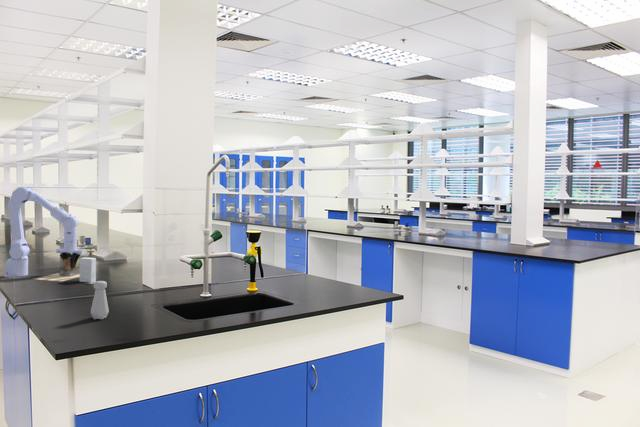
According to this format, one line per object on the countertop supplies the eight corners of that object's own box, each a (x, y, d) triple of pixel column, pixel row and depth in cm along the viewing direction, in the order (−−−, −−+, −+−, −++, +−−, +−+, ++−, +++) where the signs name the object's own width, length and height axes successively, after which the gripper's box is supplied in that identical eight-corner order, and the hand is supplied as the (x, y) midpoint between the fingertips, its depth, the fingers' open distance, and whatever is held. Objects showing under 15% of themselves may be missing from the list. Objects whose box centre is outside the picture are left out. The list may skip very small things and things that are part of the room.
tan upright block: (63, 273, 248) (63, 259, 247) (69, 271, 252) (69, 258, 252) (68, 273, 247) (68, 259, 247) (74, 272, 251) (74, 258, 251)
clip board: (31, 281, 236) (31, 274, 236) (64, 273, 258) (64, 267, 257) (61, 283, 233) (61, 276, 233) (91, 276, 254) (91, 269, 254)
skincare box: (96, 282, 238) (96, 257, 237) (91, 284, 234) (91, 258, 233) (84, 282, 238) (84, 257, 238) (78, 283, 234) (79, 258, 234)
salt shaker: (94, 315, 177) (94, 279, 177) (110, 316, 178) (111, 280, 177) (87, 320, 171) (88, 282, 171) (105, 320, 172) (105, 283, 171)
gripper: (51, 240, 247) (51, 268, 247) (77, 242, 244) (77, 270, 245) (61, 239, 254) (61, 266, 254) (87, 241, 251) (86, 268, 252)
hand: (69, 267), depth 250 cm, fingers closed on tan upright block, 3 cm apart
